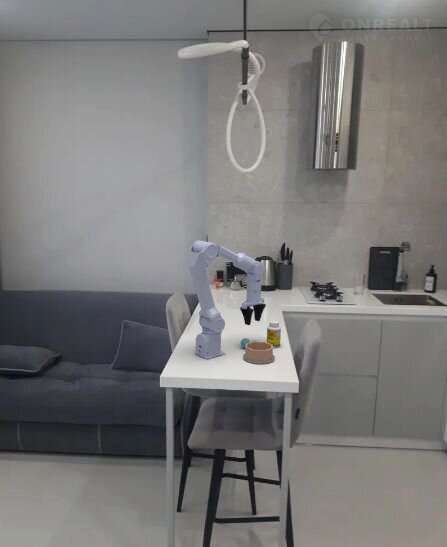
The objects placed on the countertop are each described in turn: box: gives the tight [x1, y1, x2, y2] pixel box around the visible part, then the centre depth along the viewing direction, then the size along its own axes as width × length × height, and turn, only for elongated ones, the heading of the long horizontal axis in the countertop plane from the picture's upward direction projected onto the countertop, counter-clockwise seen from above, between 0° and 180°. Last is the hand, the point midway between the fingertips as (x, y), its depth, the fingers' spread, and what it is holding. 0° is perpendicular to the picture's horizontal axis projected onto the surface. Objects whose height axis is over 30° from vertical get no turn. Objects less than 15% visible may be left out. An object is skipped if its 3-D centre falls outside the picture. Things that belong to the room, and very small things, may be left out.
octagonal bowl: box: [242, 340, 276, 365], centre depth 173 cm, size 12×12×5 cm
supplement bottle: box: [266, 320, 282, 349], centre depth 187 cm, size 6×6×10 cm
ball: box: [240, 337, 251, 349], centre depth 185 cm, size 4×4×4 cm
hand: (252, 322), depth 187 cm, fingers open, 7 cm apart
